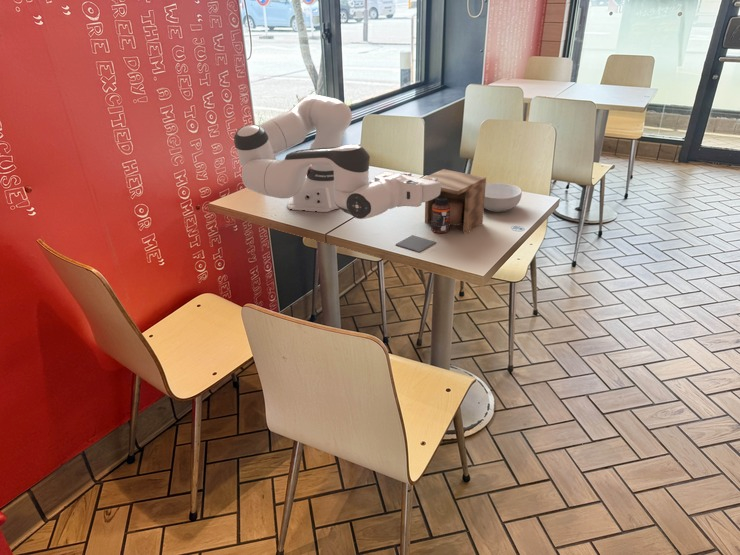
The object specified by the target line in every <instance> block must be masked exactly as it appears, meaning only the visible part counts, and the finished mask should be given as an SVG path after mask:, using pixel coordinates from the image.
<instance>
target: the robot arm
mask: <svg viewBox="0 0 740 555" xmlns="http://www.w3.org/2000/svg"><path fill="white" fill-rule="evenodd" d="M352 116H353V114H352V110H351V108H350V106H348V105H347V104H346V103H345V102H343V101H342V100H341V99H338V98H335V97H331V96H325V95H319V94H314V93H313V94H307V95H304V96H302V97H301V98H299V99H298V102H297V104H295V105H294V106H293V107H292V108H290V109H289V110H287V111H285V112H283V113H282V114H279V115H277V116H275V117H273V118H271V119H268V120H266V121H265V122H263V123H261V124H260V125H257V124H247V125H244V126H241V127H240V128H239V129H237V130H236V132H235V133H234V136H233V143H234V147H235V148H236V152H237V156H238V160H239V162H240V163H239V164H240V165H241V167H242V170H241V180H242V183H243V185H244V186H245V187H246V189H248V190H250V191H253V192H255V193H257V194H259V195H260V194H261V195H263V196H267V197H272V198H276V199H289V200H288V202H287V208H288V209H289V210H290V209H292V210H291V211H293V210H294V211H302V210H305V211H304V212H315V211H317V212H318V213H319V212H320V213H329V212H331V211H333V210H337V209H340V210H341V211H342V212H344V213H346V214H348V215H351V216H352V218H353V217H354V218H355V219H358V220H364V219H365V220H366V219H370V218H371V219H372V218H374V217H377V216H379V215H382V214H384V213H386V211H388V210H392V209H395V208H399V207H400V208H402V207H411V208H412V207H413V208H417V207H420V206H422V203H425V202H427V201H430V200H432V199H434V198H436V197H438V196H439V195H440V192H441V184H440V182H438V179H437V178H431V179H430V180H427V179H422V178H423V177H418V176H412V173H411V172H405V173H404V172H403V173H397V172H392V171H388V170H387V171H383V172H381V173H379V174H377V175H376V176H374V179H372V180H369V178H370V177H369V169H370V160H371V156H370V154H369V153H368V152H367V150H366V149H365V148H364V147H363V146H361V145H359V144H353V143H352V144H346V145H345V144H344V145H342V142H343V138H344V134H345V131H346V130H347V129H348V127H349V126H350V125H351V123H352V119H353V117H352ZM313 131H315V138H314V140H313V142H312V143H311V144H310V145H309V146H310V147H309V148H307V149H298V150H294V151H291V152H289V153H287V154H286V155H285V158H283V159H282V160H281V159H280V160H279V159H277V158H276V155H279V154H280V153H283V152H286V151H287V150H289V149H291V148H294V146H297V145H298V144H301V143H303V142H304V141H305V139H306V137H307V135H309V134H310V133H311V132H313Z"/></svg>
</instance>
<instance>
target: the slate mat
mask: <svg viewBox="0 0 740 555" xmlns="http://www.w3.org/2000/svg"><path fill="white" fill-rule="evenodd" d="M436 243H437V242H436V241H434V240H430V239H427V238H425V237H420V236H416V235H414V234H411V235H410V236H408V237H407V238H404V239H402V240H401V241H399V242H397V243H395V246H397V247H401V248H403V249H407V250H410V251H413V252H417V253H421V252H422V251H425V250H426V249H428V248H429V247H432V246H433V245H435V244H436Z"/></svg>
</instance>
